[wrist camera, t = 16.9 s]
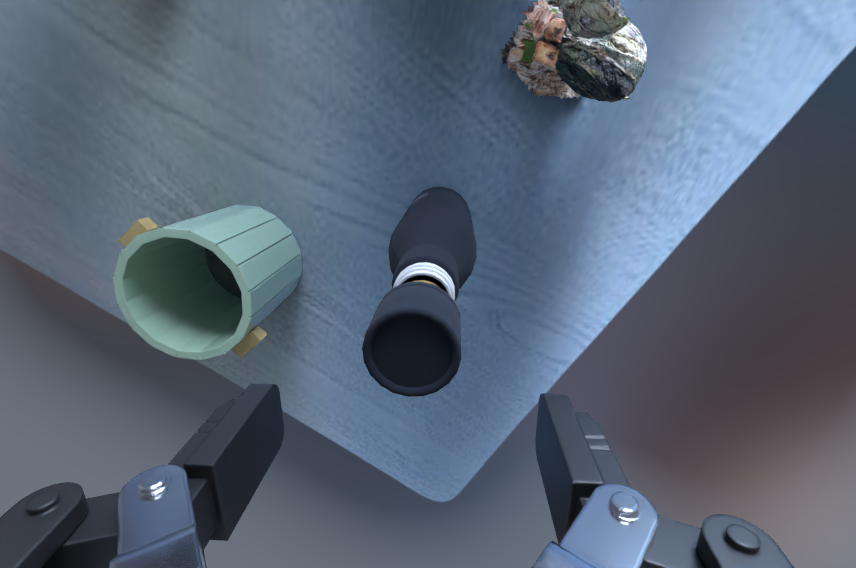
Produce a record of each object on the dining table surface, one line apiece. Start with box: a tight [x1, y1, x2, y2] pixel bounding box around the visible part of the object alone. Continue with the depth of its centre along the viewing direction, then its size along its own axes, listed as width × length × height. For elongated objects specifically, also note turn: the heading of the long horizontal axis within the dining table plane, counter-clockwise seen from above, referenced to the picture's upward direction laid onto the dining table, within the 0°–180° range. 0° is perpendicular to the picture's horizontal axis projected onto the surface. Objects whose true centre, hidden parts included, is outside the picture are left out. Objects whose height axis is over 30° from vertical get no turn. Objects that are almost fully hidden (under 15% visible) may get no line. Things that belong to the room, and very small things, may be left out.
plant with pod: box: [501, 0, 647, 102], centre depth 30 cm, size 8×11×20 cm
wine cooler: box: [113, 205, 302, 360], centre depth 42 cm, size 12×14×12 cm
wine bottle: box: [362, 187, 476, 396], centre depth 31 cm, size 6×6×30 cm
